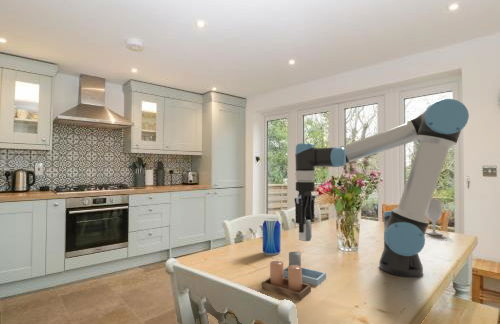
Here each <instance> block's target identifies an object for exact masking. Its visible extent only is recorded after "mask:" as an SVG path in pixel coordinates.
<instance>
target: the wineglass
mask: <svg viewBox="0 0 500 324" xmlns="http://www.w3.org/2000/svg"><path fill="white" fill-rule="evenodd" d="M442 216H443V207H442V203H441V200H440V199H438V198H437V199H436V198H431V201H430V204H429V207H428V210H427V213H426V218H427V219H428V220H430V221H431V222H432V230H426V232H425V234H427V235H430V236H431V235H432V236H443V235H444V233H443V232H440V231H436V222H437V221H439V220H440V219H441V218H442Z"/></svg>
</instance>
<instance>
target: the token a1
mask: <svg viewBox="0 0 500 324" xmlns="http://www.w3.org/2000/svg"><path fill="white" fill-rule="evenodd" d="M283 270H284V262H282V261H281V260H273V261H270V263H269V278H270V284H271V285H275V286H278V287H282V288H283V278H284V277H283Z"/></svg>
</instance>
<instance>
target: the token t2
mask: <svg viewBox="0 0 500 324" xmlns="http://www.w3.org/2000/svg"><path fill="white" fill-rule="evenodd" d="M287 267H288V278H287V279H288V290H292V291H295V292H298V293H300V292H301V291H302V283H303V282H302V267H303V266H302V265H301V266H298V265H290V266H289V265H288V266H287Z"/></svg>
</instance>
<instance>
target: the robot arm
mask: <svg viewBox="0 0 500 324" xmlns="http://www.w3.org/2000/svg"><path fill="white" fill-rule="evenodd" d="M469 115H470V114H469V110H468V108H467V107H466V105H465V104H464V103H463V102H461V101H459V100H458V99H454V98H442V99H439V100H436V101H434V102H432V103H431V104H429V105H428V107H427V108H426V110H424V112H422V113H421V114H419V115H418V116H415V117H413V118H411V119H408V120H407V122H406V123H404V124H402V125H399V126H395V127H393V128H390V129H388V130H384V131H382V132H379V133H376V134H373V135H370V136H367V137H365V138H362V139H359V140H355V141H353V142H350V143H347V144H345V145H343V146H338V147H337V146H335V147H315V144H314V143H311V142H307V143H306V142H303V143H300V142H299V143H297V144H296V145H295V154H294V156H295V173H294V175H295V180H296V182H295V191H296V192H298V195H297V196H298V197H296V198H295V197H294V206H295V207H294V208H295V224H298V240H299V241H301V240H302V242H307V241H306V224H305V219H309V220H311V239H312V236H313V234H312V232H313V231H312V229H313V228H312V223H314V222H315V201H316V200H315V199H316V196H315V195H312V192H314V191H315V182H314V181H315V179H316V178H315V177H316V176H315V167H317V168H318V167H321V168H322V167H325V168H326V167H327V168H328V167H329V168H330V167H333V168H339V167H345V166H346V164H348V163H351V162H354V161H358V160H361V159H365V158H366V157H370V156H373V155H376V154H379V153H383V152H385V151H388V150H391V149H394V148H395V149H396V148H397V147H401V146H403V145H407V144H410V143H412V142H413V143H416V144H418V143H419V144H418V146H417V150H416V152H415V156H414V159H413V162H412V165H411V168H410V170H409V173H408V176H407V180H406V183H405V186H404V188H403V191H402V195H401V197H400V201H399V203H398V206H397V207H395V208H393V209H391V210H385V211H384V212H383V250H382V252H381V256H380V259H379V264H378V265H379V269H380V270H382V271H384V272H386V273H388V274H391V275H396V276H399V277H407V278H408V277H409V278H411V277H412V278H413V277H414V278H415V277H420V276H422V275H423V274H424V267H423V264H422V261H421V259H420V256H419V253H420V252H422V250H423V249H424V246H425V243H426V237H425V235H426V233H425V232H426V231H427V228H428V226H429V223H430V221H429V219H428V218H427V216H426V213H427V210H428V207H429V204H430V201H431V199H433V195H434V192H435V189H436V187H437V185H438V181H439V179H440V175H441V172H442V170H443V167H444V164H445V161H446V157H447V155H448V153H449V149H450V148H452V147H453V146H456V145H457V142H458V140H459V137H460V134H461V131H462V130H463V129H464V128H465V127H466V125H467V123H468V121H469V117H470V116H469Z"/></svg>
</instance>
